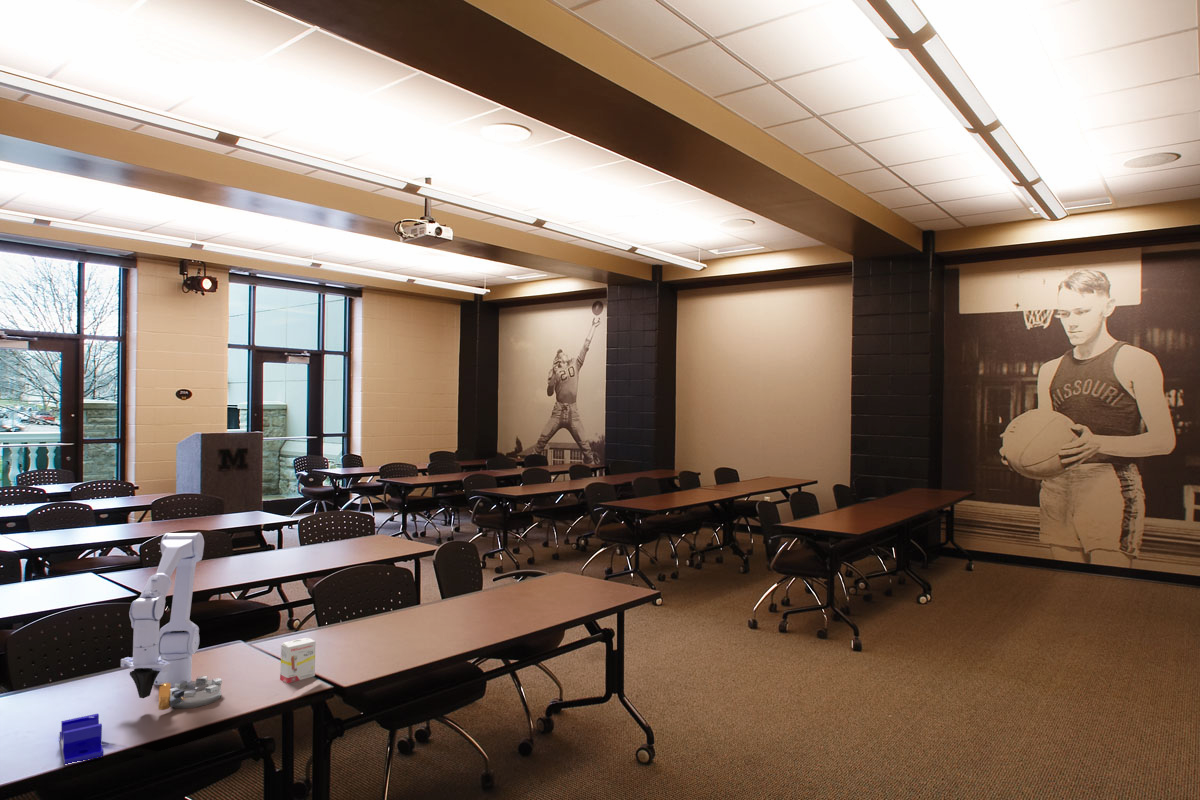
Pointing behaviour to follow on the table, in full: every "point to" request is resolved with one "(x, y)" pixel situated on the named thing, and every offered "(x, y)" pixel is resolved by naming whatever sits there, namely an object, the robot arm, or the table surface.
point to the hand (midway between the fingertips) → (144, 696)
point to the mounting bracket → (81, 738)
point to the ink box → (297, 660)
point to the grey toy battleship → (189, 693)
